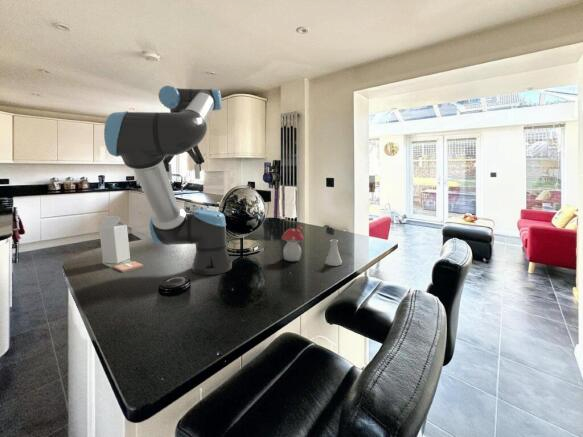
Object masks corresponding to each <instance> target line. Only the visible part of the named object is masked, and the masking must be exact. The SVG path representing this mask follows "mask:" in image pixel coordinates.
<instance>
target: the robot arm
mask: <svg viewBox="0 0 583 437" xmlns="http://www.w3.org/2000/svg"><path fill="white" fill-rule="evenodd" d="M158 99H159V102H160V103H161V104H162V105H163V106H164V107H165V108H166V109H169V112H164V111H163V112H157V111H156V112H155V111H153V112H152V111H151V112H149V111H147V112H143V111H142V112H141V111H139V112H137V111H134V112H130V111H129V110H125V111H118V112H112V113H110V114H109V115H108V116H107V118H106V119H105V122H104V123H105V124H104V129H103V130H104V133H103V136H104V145H105V146H106V147H105V148H106V150H107V151H108V153H109V154H110V155H111V156H113V157H120V158H121V159H122V161H123V164H124V165H125V166H126V167H128V168H130V169H132V170H133V172H134V173H135V176H136V178H137V180H138V182H139V185H140V187H141V188H142V191H143V193H144V195H145V198H146V200H147V202H148V204H149V207H150V209H151V211H152V213H153V214H152V216H151V218H150V220H149V225H148V226H149V231H150V233H149V234H150V237H151V238H152V240H153V242H155V243H156V244H158V245H165V246H174V245H195V254H194V259H193V261H192V265H191V267H192V270H191V271H192V272H193V274H195V275H200V276H213V275H214V276H215V275H221V274H224V273H226V272H228V271H231V269H232V267H233V265H232V260H231V257H230V254H229V251H228V248H227V229H226V226H227V223H226V215H225V214H224V213H222V212H221V211H217V210H212V209H196V210H194V211H193V213H186V211H185V209H184V208H183V207H182V206H180V205H179V204H178V201H177V198H176V195H175V192H174V189H173V187H172V184H171V181H172V180H173V174H172V172H173V171H172V164H171V161H172V160H173V158H174V157H175V156H177V155H178V156H179V155H181V154H184V153H187V154H188V155H189V157H190V158H191V159H192V160H193V162H194V164H193V165H194V167H193V168H194V179H195V180H200V179H201V171H202V167H201V166H202V164H203V163H205V159H204V157H203V155H202V153H201V150H200V148H199V144H200V143H201V142H202V141H203V139H204V138H205V136H206V135H207V130H208V126H207V122H208V120H209V119H210V116H211V114H212V112H214V111H215V112H216V111H219V110H221V109H222V104H223V103H222V102H223V101H222V94H221V91H220V89H213V88H209V89H208V88H205V89H203V88H179V87H178V88H177V87H174V86H172V85H164V86H163V87H161V88H160V89H159V91H158Z"/></svg>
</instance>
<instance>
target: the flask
mask: <svg viewBox="0 0 583 437" xmlns="http://www.w3.org/2000/svg"><path fill="white" fill-rule="evenodd" d="M338 241H339V240H338V239H331V240H329V243H330V248H329V251H328V254H327V257H326V259H325V261H324V265H327V266H331V267H338V266H342V265H343V261H342V258H341V255H340V253H339V248H338V243H339V242H338Z"/></svg>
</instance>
